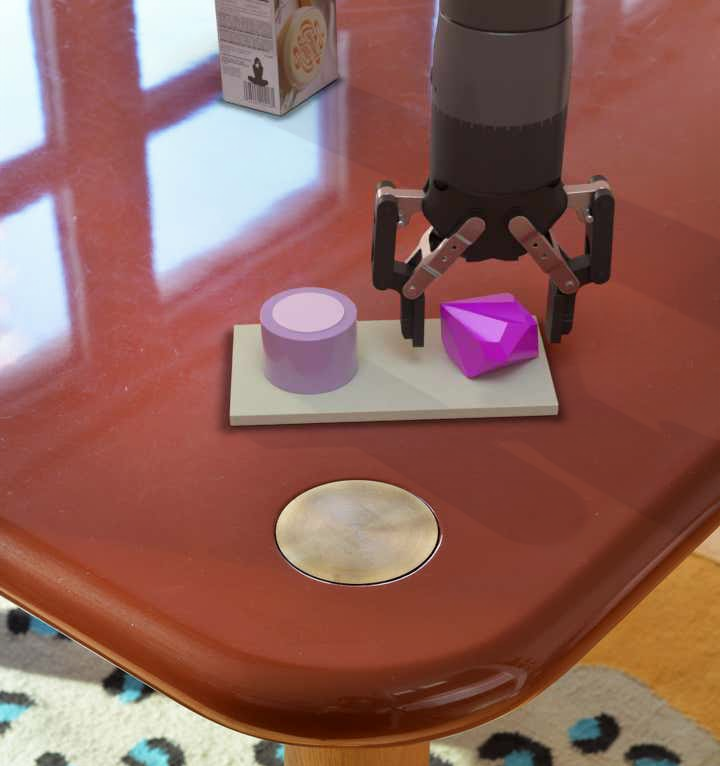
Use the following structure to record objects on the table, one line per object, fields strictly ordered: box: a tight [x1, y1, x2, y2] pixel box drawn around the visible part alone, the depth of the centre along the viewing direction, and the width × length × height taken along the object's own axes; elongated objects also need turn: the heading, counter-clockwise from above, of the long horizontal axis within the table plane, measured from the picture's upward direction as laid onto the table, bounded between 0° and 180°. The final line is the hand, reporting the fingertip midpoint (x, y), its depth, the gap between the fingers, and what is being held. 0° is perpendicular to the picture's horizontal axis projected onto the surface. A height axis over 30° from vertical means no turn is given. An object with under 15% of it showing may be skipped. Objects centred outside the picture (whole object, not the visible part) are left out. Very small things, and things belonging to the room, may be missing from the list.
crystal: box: [439, 292, 539, 377], centre depth 85 cm, size 5×5×5 cm
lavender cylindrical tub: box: [259, 286, 358, 394], centre depth 85 cm, size 6×6×4 cm
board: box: [229, 315, 559, 427], centre depth 86 cm, size 20×10×1 cm, turn 92°
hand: (485, 338), depth 85 cm, fingers open, 8 cm apart
